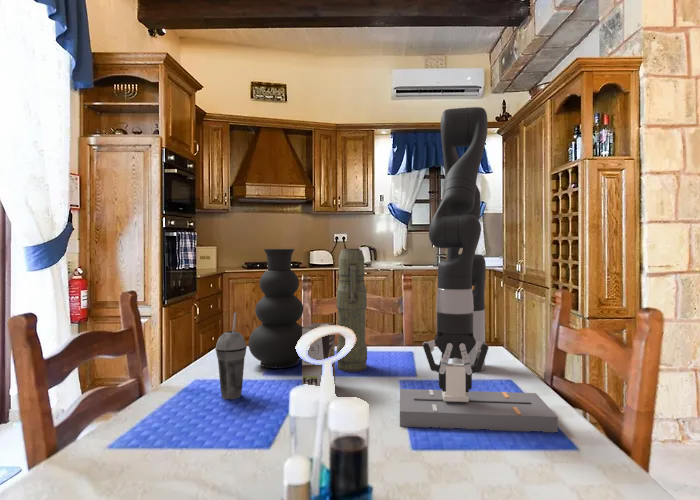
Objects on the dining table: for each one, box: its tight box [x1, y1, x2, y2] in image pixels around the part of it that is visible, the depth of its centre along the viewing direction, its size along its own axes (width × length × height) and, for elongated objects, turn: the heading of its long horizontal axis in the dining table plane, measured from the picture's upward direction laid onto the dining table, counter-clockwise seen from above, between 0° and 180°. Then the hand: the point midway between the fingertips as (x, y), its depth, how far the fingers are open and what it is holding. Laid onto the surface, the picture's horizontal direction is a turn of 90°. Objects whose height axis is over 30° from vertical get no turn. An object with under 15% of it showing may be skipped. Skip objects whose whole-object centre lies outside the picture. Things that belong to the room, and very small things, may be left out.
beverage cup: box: [215, 312, 248, 400], centre depth 108 cm, size 7×7×20 cm
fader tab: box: [442, 363, 469, 402], centre depth 95 cm, size 4×5×7 cm
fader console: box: [399, 388, 559, 433], centre depth 95 cm, size 14×30×3 cm, turn 84°
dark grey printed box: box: [301, 322, 336, 386], centre depth 112 cm, size 9×6×16 cm
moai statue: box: [336, 248, 368, 373], centre depth 132 cm, size 9×12×35 cm
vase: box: [248, 248, 305, 369], centre depth 136 cm, size 18×18×35 cm
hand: (454, 390), depth 95 cm, fingers closed on fader tab, 4 cm apart
